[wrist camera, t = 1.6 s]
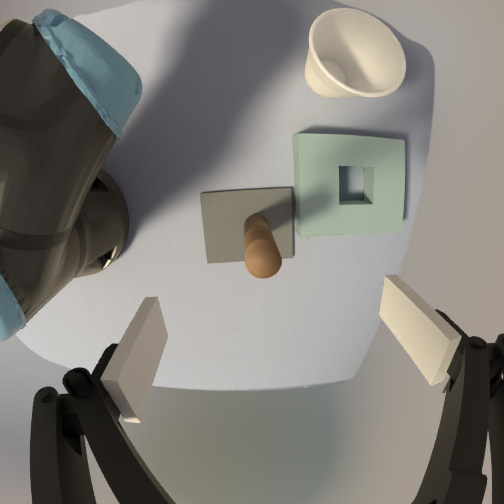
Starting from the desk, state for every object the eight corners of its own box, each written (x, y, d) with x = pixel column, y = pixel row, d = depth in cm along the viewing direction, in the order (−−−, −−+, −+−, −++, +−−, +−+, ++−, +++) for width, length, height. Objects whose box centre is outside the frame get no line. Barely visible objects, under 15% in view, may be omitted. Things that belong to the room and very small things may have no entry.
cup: (376, 94, 29) (423, 78, 19) (317, 126, 31) (351, 114, 20) (334, 35, 26) (367, -2, 16) (273, 62, 28) (286, 25, 17)
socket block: (295, 230, 35) (300, 237, 32) (292, 135, 31) (297, 133, 28) (391, 226, 35) (401, 232, 32) (393, 140, 31) (404, 140, 28)
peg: (244, 238, 35) (246, 279, 23) (243, 214, 34) (244, 245, 22) (268, 237, 35) (281, 277, 23) (267, 213, 34) (281, 243, 22)
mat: (207, 262, 36) (207, 263, 35) (200, 193, 33) (200, 193, 32) (292, 256, 36) (292, 257, 36) (290, 187, 33) (291, 188, 33)
